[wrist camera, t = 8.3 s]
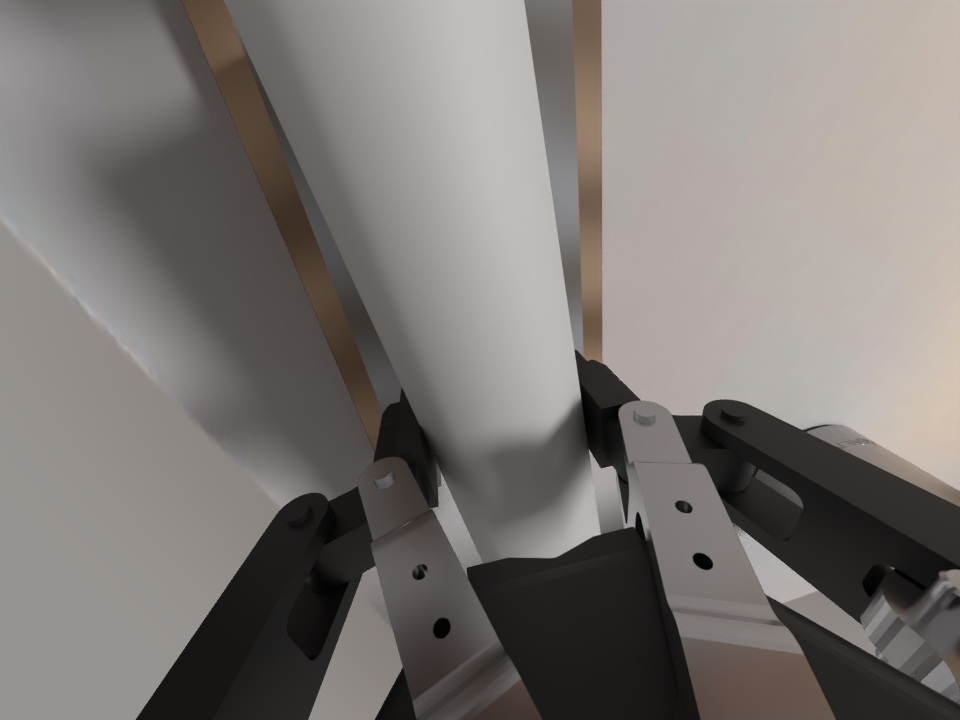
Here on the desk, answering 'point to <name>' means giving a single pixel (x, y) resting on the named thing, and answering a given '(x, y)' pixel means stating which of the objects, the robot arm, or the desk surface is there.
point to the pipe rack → (338, 306)
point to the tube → (445, 238)
